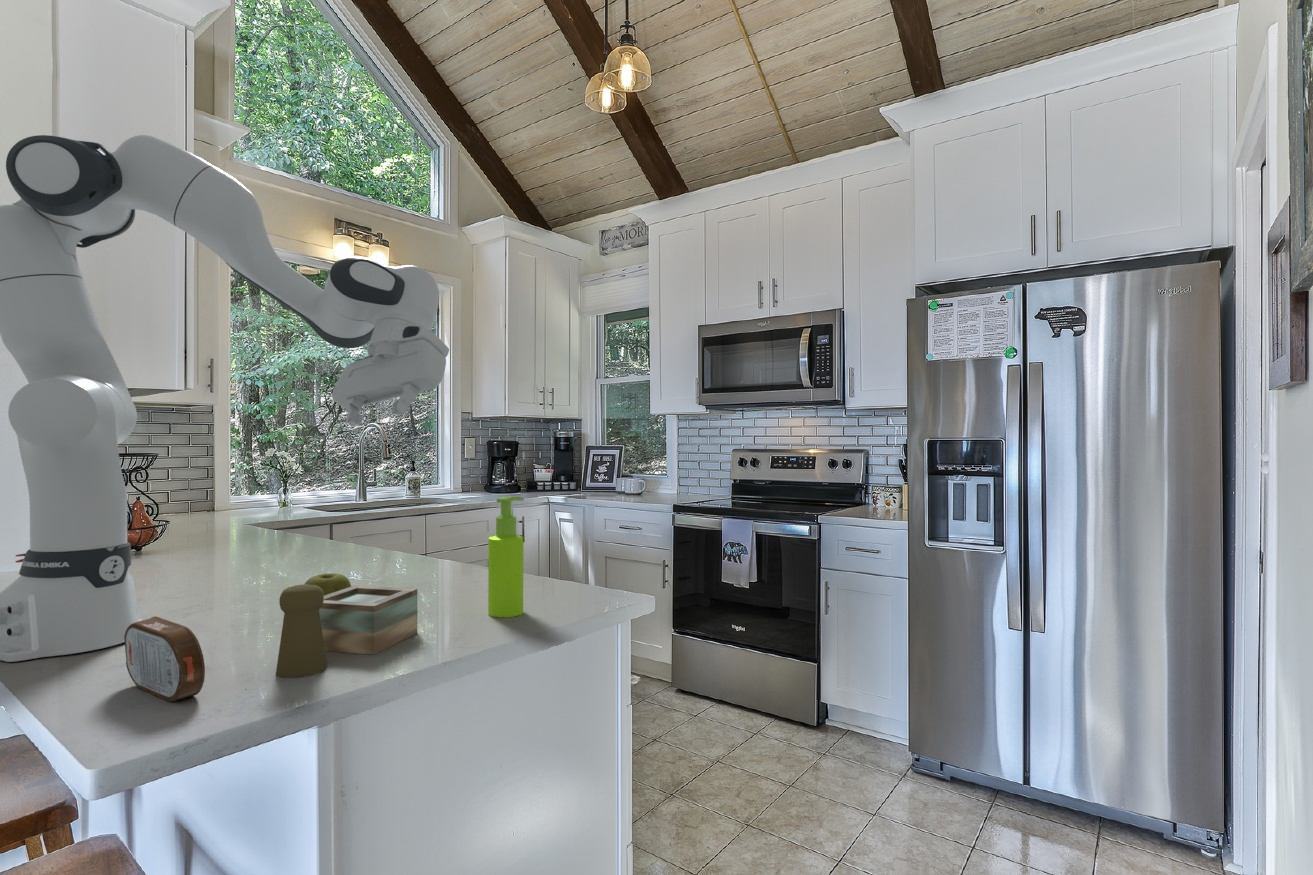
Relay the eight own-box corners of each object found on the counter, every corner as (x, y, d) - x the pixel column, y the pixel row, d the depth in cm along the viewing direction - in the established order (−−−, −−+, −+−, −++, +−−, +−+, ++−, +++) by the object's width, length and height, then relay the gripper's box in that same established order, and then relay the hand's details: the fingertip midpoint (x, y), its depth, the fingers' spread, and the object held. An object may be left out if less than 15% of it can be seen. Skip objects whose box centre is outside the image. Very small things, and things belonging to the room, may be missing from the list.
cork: (312, 677, 88) (312, 591, 88) (265, 677, 88) (265, 590, 88) (335, 662, 94) (335, 581, 94) (291, 661, 94) (291, 580, 94)
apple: (301, 626, 111) (301, 582, 111) (301, 615, 118) (301, 573, 118) (353, 621, 114) (353, 577, 114) (349, 610, 122) (349, 569, 121)
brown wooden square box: (305, 649, 99) (305, 601, 99) (354, 628, 110) (354, 585, 110) (374, 654, 97) (374, 606, 97) (417, 632, 108) (417, 588, 108)
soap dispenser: (533, 609, 122) (533, 496, 122) (509, 619, 116) (509, 499, 116) (506, 606, 124) (506, 494, 124) (481, 615, 118) (481, 498, 118)
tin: (207, 701, 80) (207, 628, 80) (177, 711, 77) (177, 635, 77) (148, 677, 88) (148, 610, 88) (119, 684, 85) (119, 616, 85)
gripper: (336, 351, 117) (311, 420, 110) (432, 323, 110) (411, 395, 102) (364, 372, 122) (341, 439, 115) (457, 347, 114) (439, 417, 107)
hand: (375, 418), depth 109 cm, fingers open, 8 cm apart
